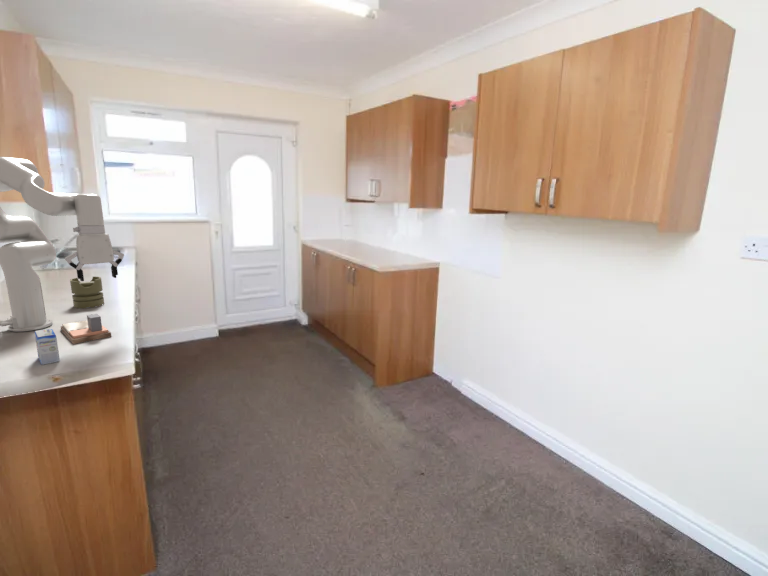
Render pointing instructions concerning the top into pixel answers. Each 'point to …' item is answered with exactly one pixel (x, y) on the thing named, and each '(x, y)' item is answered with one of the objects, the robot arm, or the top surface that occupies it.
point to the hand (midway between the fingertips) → (98, 279)
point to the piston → (87, 293)
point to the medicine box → (47, 346)
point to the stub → (90, 327)
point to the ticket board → (78, 326)
